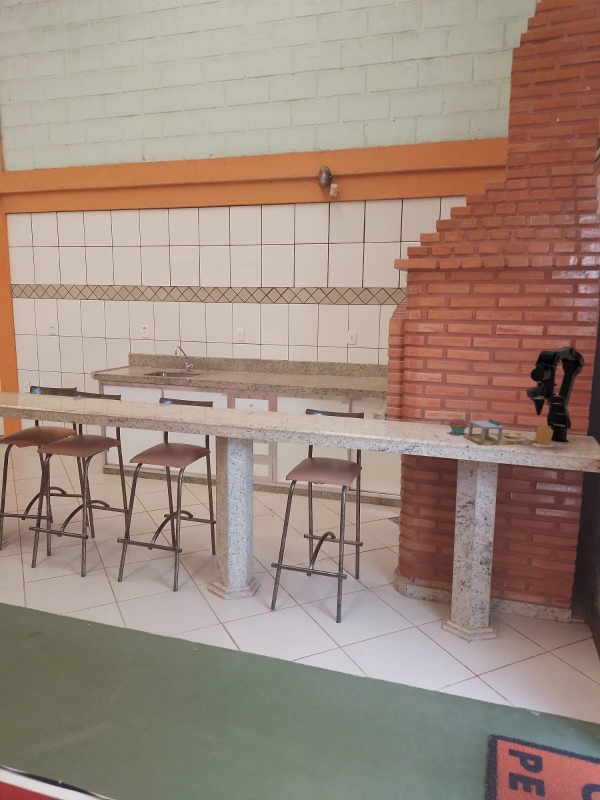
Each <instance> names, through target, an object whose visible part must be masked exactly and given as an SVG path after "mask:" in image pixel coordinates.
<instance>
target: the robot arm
mask: <svg viewBox="0 0 600 800" xmlns="http://www.w3.org/2000/svg"><path fill="white" fill-rule="evenodd" d="M560 363H561V364H562V366H561V369H562V371H563V377H562V380H561V385H560V388H559V392H558V393H556V392H555V387H557V386H558V384H557V383H556V372H557V370H558V367H557V366H558V365H559V364H560ZM534 364H535V365H534V367H535V368H533V369H532V370H531V371H530V379H531V380H532V381H534V382H536V383H537V384H536V386H532V387H530V388H527V389H526V390H525V392H526V396H527V398H529V400H530V401H532V402H533V404H534V407H535V411H536V415H537V416H541V413H542V410H543V408H544V405H545V401H546V405H547V406H548V413H547V414H546V421H547V423H546V424H547V426H548V427H550V428H551V429H552V430H553V435H552V438H551V441H553V442H555V443H559V442H562V443H563V442H569V440H568V439H567V437H568V429H571V428H572V421H571V417H570V411H569V408H568V405H569V402H570V398H571V395H572V391H573V386H574V383H575V380H576V377H577V376H578V375H579V374H581V372H582V370H583V368H584V367H585V359H584V356H583V354H581V353H580V352H579V351H577V349H576V347H574V346H563V347H561V348H557V349H555V350H542V351H540V353H539V355H538V358H537V360H536V362H535V363H534ZM557 394H558V395H557Z"/></svg>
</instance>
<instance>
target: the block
mask: <svg viewBox="0 0 600 800" xmlns="http://www.w3.org/2000/svg"><path fill="white" fill-rule="evenodd" d="M552 435H553V430H552V429H551V426H548V425H539V426H537V429H536V433H535V437H534V440H536V441H537V442H538V443H539V444H540V445H550V443H552V442H551V441H552V440H551V438H552Z"/></svg>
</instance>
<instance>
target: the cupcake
mask: <svg viewBox="0 0 600 800" xmlns="http://www.w3.org/2000/svg"><path fill="white" fill-rule="evenodd" d="M448 426H449V427H450V429H451V432H452V435H455V436H456V435H459V436H460V435H461V436H462V435H464V434H465V430H466V428H469V422H468V421H467V420H465V419H461V418H460V408H457V418H453V419H452V420H450V421H449V424H448Z"/></svg>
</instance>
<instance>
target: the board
mask: <svg viewBox="0 0 600 800" xmlns="http://www.w3.org/2000/svg"><path fill="white" fill-rule="evenodd" d="M521 433H522V432H521ZM521 433H515V432H514V433H509V432H508V433H503V432H502V440H498V434H499V433H489V435H486V434H485V441H482V440H481V433H472V435H469V433H463V434H462V435H463V436H462V437H463V438H465V439H466V440H468V441H470V442H472V443H474V444H476V445H478V446H523V445H525V446H528V445H529V446H532V445H531V443H538V442H537V441H536V440H535V438H534V439H533V438H531V437H528V436H526V435H523V434H521Z"/></svg>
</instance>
